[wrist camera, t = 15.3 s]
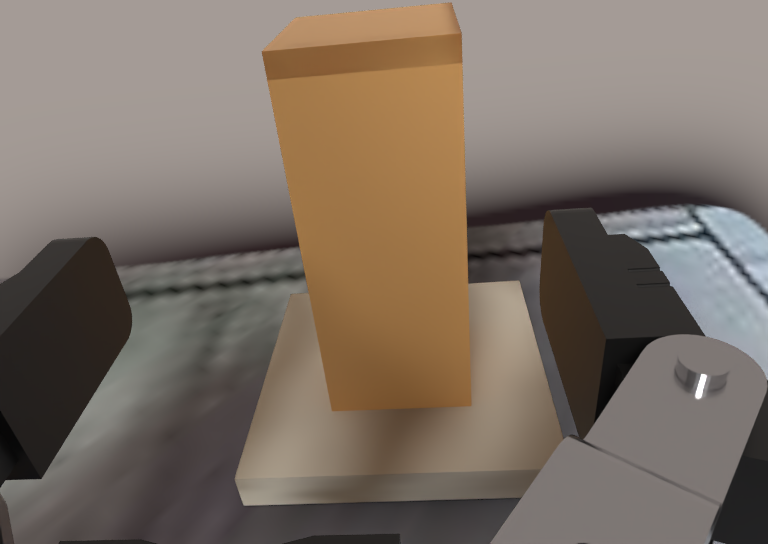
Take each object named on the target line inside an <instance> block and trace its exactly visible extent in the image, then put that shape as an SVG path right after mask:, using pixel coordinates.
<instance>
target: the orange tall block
mask: <svg viewBox="0 0 768 544" xmlns="http://www.w3.org/2000/svg"><path fill="white" fill-rule="evenodd" d="M262 56H263V61H264V66H265V71H266V75H267V81H268V86H269V91H270V97H271V102H272V107H273V112H274V117H275V122H276V127H277V132H278V137H279V143H280V147H281V152H282V158H283V163H284V168H285V173H286V179H287V184H288V188H289V194H290V199H291V204H292V209H293V214H294V220H295V224H296V230H297V235H298V240H299V245H300V250H301V255H302V261H303V266H304V271H305V276H306V281H307V286H308V291H309V296H310V302H311V307H312V312H313V317H314V322H315V327H316V332H317V338H318V343H319V348H320V353H321V358H322V363H323V368H324V373H325V379H326V384H327V389H328V394H329V399H330V404H331V409H332V411H355V410H382V409H409V408H436V407H463V406H471V369H470V332H469V294H468V257H467V223H466V221H467V219H466V186H465V185H466V182H465V145H464V110H463V109H464V107H463V70H462V35H461V30H460V27H459V24H458V21H457V18H456V15H455V12H454V9H453V6H452V3H441V4H431V5H420V6H410V7H400V8H390V9H380V10H369V11H358V12H348V13H338V14H328V15H317V16H307V17H297V18H295V19H294V20H293V21H292V22H291V23H290V24H289V25H288V26H287V27H286V28H285V29H284V30H283V31H282V32H281V33H280V34H279V35H278V36H277V37H276V38H275V39H274V40H273V41H272V42H271V43H270V44H269V45H268V46H267V47H266V48H265V49H264V50H263V51H262Z"/></svg>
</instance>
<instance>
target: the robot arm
mask: <svg viewBox="0 0 768 544" xmlns="http://www.w3.org/2000/svg"><path fill="white" fill-rule="evenodd" d="M540 306H541V313H542V318H543V322H544V325H545V328H546V332H547V335H548V338H549V341H550V345H551V348H552V351H553V354H554V357H555V361H556V364H557V367H558V370H559V373H560V377H561V380H562V383H563V386H564V389H565V393H566V396H567V399H568V402H569V405H570V409H571V412H572V415H573V418H574V421H575V425H576V428H577V431H578V434H579V437H580V438H579V437H577V436H575V435H569V436H567V437H566V438H565V439H564V440H563V441H562V442H561V443H560V444H559V445H558V447H557V448H556V449H555V451H554V452H553V454H552V455H551V457H550V458H549V459H548V461H547V462H546V464H545V465H544V467H543V468H542V469H541V471H540V472H539V474H538V475H537V477H536V478H535V479H534V481H533V482H532V484H531V485H530V487H529V488H528V490H527V491H526V492H525V494H524V495H523V497H522V498H521V500H520V501H519V502H518V504H517V505H516V507H515V508H514V510H513V511H512V512H511V514H510V515H509V517H508V518H507V520H506V521H505V523H504V524H503V525H502V527H501V528H500V530H499V531H498V533H497V534H496V535H495V537H494V538H493V540H492V541H491V543H490V544H714V541H717V542H721V543H725V544H768V380H767V379H766V376H765V374H764V372H763V370H762V369H761V367H760V366H759V365H758V364H757V363H756V362H755V361H754V360H753V359H752V358H751V357H750V356H748V355H747V354H746V353H744V352H743V351H741V350H739V349H738V348H736V347H734V346H732V345H730V344H728V343H725V342H722V341H720V340H717V339H713V338H709V337H706V336H705V335H704V333H703V332H702V330H701V329H700V327H699V326H698V324H697V323H696V321H695V320H694V318H693V317H692V315H691V314H690V312H689V310H688V309H687V307H686V306H685V304H684V303H683V301H682V300H681V298H680V297H679V295H678V294H677V292H676V291H675V289H674V288H673V286H670V282H669V280H668V279H667V277H666V276H665V274H664V273H663V271H660V267H659V265H658V264H657V262H656V261H655V259H654V258H653V256H652V255H651V253H650V252H649V250H648V249H647V248H645V247H644V246H642V245H641V244H639V243H638V242H636V241H635V240H633V239H632V238H630V237H628V236H627V235H625V234H617V235H608V234H607V233H606V231H605V229H604V227H603V226H602V224H601V222H600V221H599V219H598V217H597V215H596V214H595V212H594V210H593V209H592V208H579V209H563V210H548V211H547V212H546V214H545V218H544V226H543V242H542V258H541V273H540ZM131 327H132V313H131V308H130V305H129V302H128V300H127V297H126V294H125V292H124V289H123V287H122V284H121V281H120V279H119V276H118V274H117V271H116V268H115V266H114V263H113V261H112V258H111V255H110V253H109V250H108V248H107V246H106V245H105V243H104V242H103V241H102V240H101V239H99V238H97V237H89V238H72V239H57V240H53V241H51V242H50V243H49V244H48V245H47V246H46V247H45V248H44V249H43V250H42V251H41V252H40V253H39V254H38V255H37V256H36V257H35V258H34V259H33V260H32V261H31V262H30V263H29V264H28V265H27V266H26V267H25V268H24V269H23V270H21V271H20V272H19V273H18V274H16V275H14V276H13V277H11V278H9V279H8V280H6V281H4V282H3V283H1V284H0V487H1V486H2V484H3V483H4V481H5V480H22V479H42V477H43V475H44V474H45V472H46V470H47V469H48V467H49V466H50V464H51V462H52V461H53V459H54V458H55V456H56V454H57V453H58V451H59V450H60V448H61V446H62V445H63V443H64V441H65V440H66V438H67V437H68V435H69V433H70V432H71V430H72V429H73V427H74V425H75V424H76V422H77V421H78V419H79V417H80V416H81V414H82V412H83V411H84V409H85V408H86V406H87V404H88V403H89V401H90V400H91V398H92V396H93V395H94V393H95V392H96V390H97V388H98V387H99V385H100V383H101V382H102V380H103V379H104V377H105V375H106V374H107V372H108V371H109V369H110V367H111V366H112V364H113V363H114V361H115V359H116V358H117V356H118V354H119V353H120V351H121V350H122V348H123V346H124V345H125V343H126V342H127V340H128V338H129V335H130V332H131ZM0 544H14V540H13V534H12V529H11V524H10V518H9V513H8V508H7V504H6V501H5V500H4V498H3V497H2V495H1V494H0ZM59 544H156V543H152V542H148V541H144V540H96V541H60V542H59ZM284 544H401V542H400V534H373V535H326V536H311V537H307V538H303V539H299V540H295V541H291V542H287V543H284Z"/></svg>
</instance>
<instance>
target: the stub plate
mask: <svg viewBox="0 0 768 544" xmlns="http://www.w3.org/2000/svg"><path fill="white" fill-rule="evenodd" d="M468 294H469V332H470V369H471V406H463V407H436V408H409V409H382V410H355V411H332V409H331V404H330V399H329V394H328V389H327V384H326V379H325V373H324V368H323V363H322V358H321V353H320V348H319V343H318V338H317V332H316V327H315V322H314V317H313V312H312V307H311V302H310V296H309V293H300V294H291V296H290V299H289V302H288V305H287V309H286V312H285V315H284V319H283V322H282V325H281V328H280V332H279V335H278V338H277V342H276V345H275V348H274V351H273V355H272V358H271V361H270V365H269V368H268V371H267V374H266V378H265V381H264V384H263V388H262V391H261V394H260V397H259V401H258V404H257V407H256V411H255V414H254V417H253V420H252V424H251V427H250V430H249V434H248V437H247V440H246V443H245V447H244V450H243V453H242V456H241V460H240V463H239V466H238V470H237V473H236V476H235V482H236V485H237V488H238V491H239V494H240V496H241V499H242V502H243V505H244V506H249V505H284V504H319V503H354V502H389V501H424V500H459V499H494V498H522V497H523V495H524V494H525V492H526V491H527V490H528V488H529V487H530V485H531V484H532V482H533V481H534V479H535V478H536V477H537V475H538V474H539V472H540V471H541V469H542V468H543V467H544V465H545V464H546V462H547V461H548V459H549V458H550V457H551V455H552V454H553V452H554V451H555V449H556V448H557V447H558V445H559V444H560V443H561V442H562V441H563V440H564V439H563V435H562V431H561V428H560V424H559V421H558V417H557V414H556V410H555V406H554V403H553V399H552V396H551V392H550V389H549V385H548V381H547V378H546V374H545V371H544V367H543V364H542V360H541V356H540V353H539V349H538V346H537V342H536V339H535V335H534V331H533V328H532V324H531V321H530V317H529V314H528V310H527V306H526V303H525V299H524V296H523V292H522V289H521V285H520V282H519V281H505V282H488V283H471V284H468Z"/></svg>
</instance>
